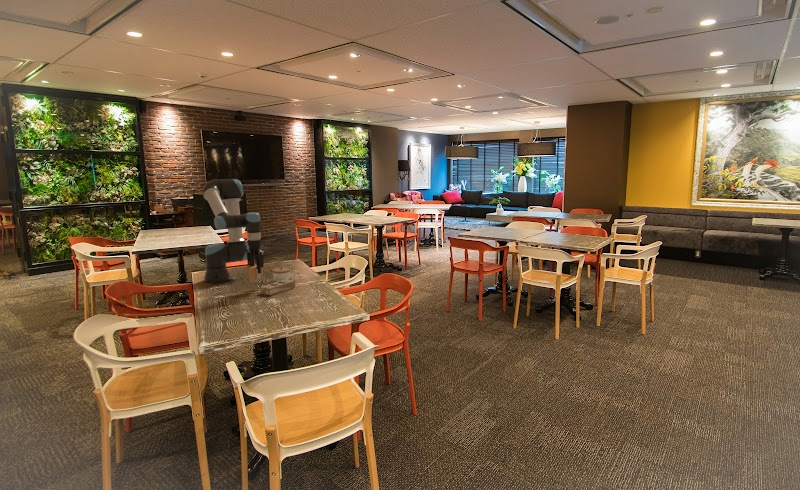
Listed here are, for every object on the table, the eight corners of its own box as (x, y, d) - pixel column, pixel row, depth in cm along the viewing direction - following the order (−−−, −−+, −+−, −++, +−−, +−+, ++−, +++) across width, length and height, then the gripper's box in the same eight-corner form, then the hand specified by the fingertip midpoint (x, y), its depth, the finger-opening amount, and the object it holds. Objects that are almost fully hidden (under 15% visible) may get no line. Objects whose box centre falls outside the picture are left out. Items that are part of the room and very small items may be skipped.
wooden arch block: (249, 282, 250) (248, 267, 248) (259, 279, 257) (258, 264, 255) (253, 283, 249) (252, 268, 247) (263, 279, 255) (262, 265, 253)
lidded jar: (293, 279, 276) (292, 265, 274) (287, 283, 266) (286, 269, 264) (277, 279, 277) (276, 265, 275) (270, 283, 267) (269, 268, 265)
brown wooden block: (260, 293, 245) (259, 286, 244) (285, 285, 262) (285, 279, 261) (270, 295, 241) (269, 288, 240) (295, 287, 258) (294, 280, 257)
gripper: (239, 238, 248) (241, 277, 253) (259, 241, 240) (261, 281, 245) (249, 236, 255) (251, 274, 259) (269, 239, 247) (270, 278, 251)
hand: (256, 278), depth 252 cm, fingers closed on wooden arch block, 3 cm apart
